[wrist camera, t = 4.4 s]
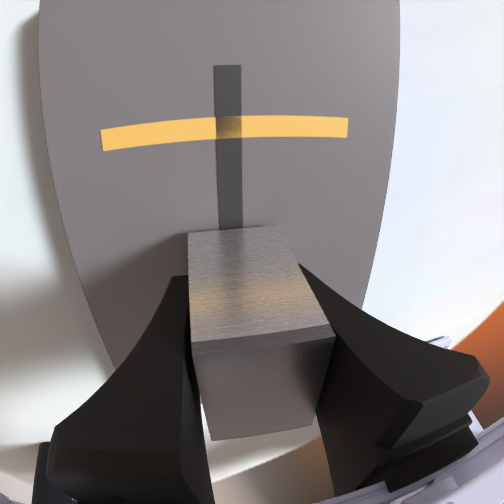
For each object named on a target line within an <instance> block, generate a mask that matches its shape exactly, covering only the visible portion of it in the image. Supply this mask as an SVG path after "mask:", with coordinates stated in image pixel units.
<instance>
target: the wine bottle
mask: <svg viewBox="0 0 504 504" xmlns="http://www.w3.org/2000/svg"><path fill="white" fill-rule="evenodd" d="M49 446H50V442H46V443H42V444H41V445H40V446H39V451H38V457H37V464H36V471H35V478H34V486H33V495H32V504H77V501H76V500H75V499H73V498H71V497H70V496H68V495H67V494H65V493H64V492H62V491H61V490H59V489H58V488H56V487H55V486H54V485H53V484H52V483H50V481H49V480H48V479H47V477H46V466H47V459H48V452H49Z"/></svg>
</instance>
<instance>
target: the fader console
mask: <svg viewBox="0 0 504 504" xmlns="http://www.w3.org/2000/svg"><path fill="white" fill-rule="evenodd" d="M399 62H400V2H399V0H40V7H39V74H40V90H41V101H42V111H43V120H44V128H45V136H46V142H47V149H48V155H49V161H50V166H51V172H52V177H53V182H54V187H55V191H56V196H57V200H58V205H59V209H60V213H61V217H62V221H63V225H64V229H65V232H66V236H67V240H68V243H69V247H70V250H71V253H72V257H73V260H74V263H75V266H76V269H77V273H78V276H79V279H80V282H81V285H82V287H83V290H84V293H85V296H86V299H87V301H88V304H89V307H90V310H91V312H92V315H93V317H94V320H95V322H96V325H97V328H98V330H99V332H100V335H101V337H102V340H103V342H104V344H105V347H106V349H107V351H108V354H109V356H110V358H111V360H112V362H113V365H114V367H115V369H116V370H117V368H118V367H119V366H120V365H121V363H122V362H123V361H124V360H125V358H126V357H127V356H128V354H129V353H130V352H131V350H132V349H133V348H134V346H135V345H136V343H137V342H138V340H139V339H140V337H141V336H142V334H143V332H144V331H145V329H146V327H147V326H148V324H149V322H150V321H151V319H152V317H153V315H154V313H155V312H156V310H157V308H158V306H159V304H160V302H161V300H162V298H163V296H164V293H165V291H166V289H167V287H168V284H169V281H170V279H171V278H172V277H173V276H181V275H189V274H188V233H193V232H204V231H215V230H227V229H238V228H250V227H263V226H275V225H277V227H278V229H279V231H280V232H281V234H282V236H283V238H284V240H285V242H286V243H287V245H288V247H289V249H290V251H291V252H292V254H293V256H294V258H295V260H296V262H297V264H298V263H300V264H301V265H302V266H304V267H305V268H306V269H307V270H309V271H310V272H311V273H312V274H314V275H315V276H316V277H317V278H319V279H320V280H321V281H322V282H324V283H325V284H326V285H327V286H329V287H330V288H331V289H333V290H334V291H335V292H337V293H338V294H339V295H341V296H342V297H343V298H345V299H346V300H348V301H349V302H350V303H352V304H353V305H355V306H356V307H358V308H359V309H361V310H362V306H363V302H364V298H365V294H366V290H367V286H368V282H369V278H370V274H371V269H372V265H373V260H374V256H375V251H376V247H377V242H378V237H379V232H380V227H381V221H382V216H383V210H384V205H385V199H386V193H387V186H388V180H389V173H390V166H391V158H392V150H393V142H394V133H395V123H396V112H397V99H398V84H399ZM201 403H202V399H201V395H200V404H201Z"/></svg>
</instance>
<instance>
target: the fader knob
mask: <svg viewBox="0 0 504 504" xmlns="http://www.w3.org/2000/svg"><path fill="white" fill-rule="evenodd" d="M188 274H189V304H190V326H191V345H192V358H193V363H194V367H195V372H196V377H197V381H198V386H199V391H200V395H201V399H202V404H203V408H204V412H205V416H206V421H207V425H208V429H209V433H210V437H211V440H212V441H216V440H226V439H234V438H241V437H249V436H255V435H262V434H268V433H273V432H279V431H284V430H289V429H294V428H299V427H304V426H309V425H311V424H312V421H313V417H314V414H315V411H316V408H317V404H318V401H319V397H320V394H321V391H322V387H323V384H324V380H325V376H326V373H327V369H328V365H329V362H330V358H331V354H332V350H333V346H334V342H335V338H336V335H335V333H334V331H333V330H332V328H331V326H330V324H329V322H328V320H327V318H326V316H325V314H324V312H323V310H322V308H321V307H320V305H319V303H318V301H317V299H316V297H315V295H314V293H313V291H312V290H311V288H310V286H309V284H308V282H307V280H306V278H305V276H304V275H303V273H302V271H301V269H300V267H299V265H298V264H297V262H296V260H295V258H294V256H293V254H292V252H291V251H290V249H289V247H288V245H287V243H286V242H285V240H284V238H283V236H282V234H281V232H280V231H279V229H278V227H277V225H275V226H263V227H250V228H238V229H227V230H215V231H204V232H193V233H188Z"/></svg>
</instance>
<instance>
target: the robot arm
mask: <svg viewBox="0 0 504 504" xmlns="http://www.w3.org/2000/svg"><path fill="white" fill-rule="evenodd" d="M298 265H299V267H300V269H301V271H302V273H303V275H304V276H305V278H306V280H307V282H308V284H309V286H310V288H311V290H312V291H313V293H314V295H315V297H316V299H317V301H318V303H319V305H320V307H321V308H322V310H323V312H324V314H325V316H326V318H327V320H328V322H329V324H330V326H331V328H332V330H333V331H334V333H335V335H336V338H335V342H334V346H333V350H332V354H331V358H330V362H329V365H328V369H327V373H326V376H325V380H324V384H323V387H322V391H321V394H320V397H319V401H318V404H317V408H316V411H315V412H316V416H317V419H318V423H319V427H320V431H321V435H322V438H323V442H324V446H325V451H326V455H327V459H328V464H329V469H330V473H331V478H332V483H333V489H334V494H335V498H332V499H328V500H325V501H321V502H317V503H313V504H387V503H390V502H391V503H390V504H504V417H503V418H502V419H500V420H499V421H497V422H496V423H494V424H492V425H491V426H489V428H486V429H485V430H483V429H482V427H481V425H480V424H479V422H478V421H477V419H476V417H475V416H474V414H473V413H472V411H471V409H472V408H473V407H474V405H475V404H476V403H477V402H478V401H479V399H480V398H481V397H482V395H483V394H484V393H485V391H486V390H487V388H488V385H489V382H490V376H489V375H488V373H487V372H486V371H485V369H484V368H483V367H482V365H481V364H480V363H479V361H478V360H477V359H476V357H475V356H473V355H469V354H464V353H461V352H457V351H453V350H449V349H448V347H449V345H450V343H451V339H450V337H444V338H441V339H438V340H435V341H432V342H429V343H427V342H425V341H422V340H420V339H417V338H415V337H412V336H410V335H408V334H405V333H403V332H401V331H399V330H397V329H395V328H393V327H391V326H389V325H387V324H385V323H383V322H381V321H379V320H378V319H376V318H374V317H372V316H371V315H369V314H367V313H366V312H364V311H362V310H361V309H359V308H358V307H356V306H355V305H353V304H352V303H350V302H349V301H348V300H346V299H345V298H343V297H342V296H341V295H339V294H338V293H337V292H335V291H334V290H333V289H331V288H330V287H329V286H327V285H326V284H325V283H324V282H322V281H321V280H320V279H319V278H317V277H316V276H315V275H314V274H312V273H311V272H310V271H309V270H307V269H306V268H305V267H304V266H302V265H301V264H300V263H298ZM46 477H47V479H48V480H49V481H50V483H52V484H53V485H54V486H55V487H56V488H58V489H59V490H61V491H62V492H64V493H65V494H67V495H68V496H70V497H71V498H73V499H75V500H76V501H77V504H215V501H214V495H213V490H212V485H211V479H210V473H209V467H208V461H207V454H206V447H205V440H204V433H203V425H202V417H201V406H200V391H199V386H198V381H197V377H196V372H195V367H194V363H193V358H192V345H191V326H190V304H189V275H181V276H173V277H172V278H171V279H170V281H169V284H168V287H167V289H166V291H165V293H164V296H163V298H162V300H161V302H160V304H159V306H158V308H157V310H156V312H155V313H154V315H153V317H152V319H151V321H150V322H149V324H148V326H147V327H146V329H145V331H144V332H143V334H142V336H141V337H140V339H139V340H138V342H137V343H136V345H135V346H134V348H133V349H132V350H131V352H130V353H129V354H128V356H127V357H126V358H125V360H124V361H123V362H122V363H121V365H120V366H119V367H118V368H117V370H116V371H115V372H114V373H113V374H112V375H111V377H110V378H109V379H108V380H107V381H106V382H105V383H104V384H103V385H102V386H101V387H100V388H99V389H98V390H97V391H96V392H95V393H94V394H93V395H92V396H91V397H90V398H89V399H88V400H87V401H86V402H85V403H84V404H83V405H82V406H80V407H79V408H78V409H77V410H76V411H74V412H73V413H72V414H71V415H69V416H68V417H67V418H66V419H64V420H63V421H62V422H61V423H59V424H58V425H56V426H55V428H54V432H53V435H52V438H51V441H50V446H49V452H48V459H47V466H46ZM0 504H23V503H20V502H16V501H13V500H10V499H9V498H8V497H7V496H5V495H4V494H2V493H0Z"/></svg>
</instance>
